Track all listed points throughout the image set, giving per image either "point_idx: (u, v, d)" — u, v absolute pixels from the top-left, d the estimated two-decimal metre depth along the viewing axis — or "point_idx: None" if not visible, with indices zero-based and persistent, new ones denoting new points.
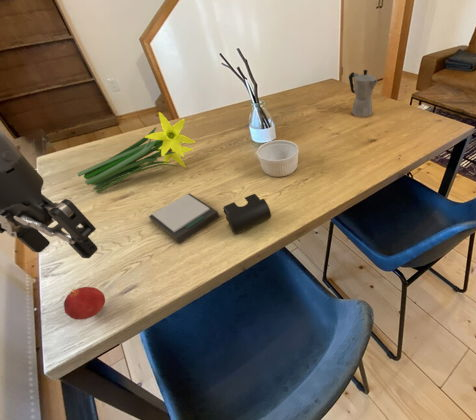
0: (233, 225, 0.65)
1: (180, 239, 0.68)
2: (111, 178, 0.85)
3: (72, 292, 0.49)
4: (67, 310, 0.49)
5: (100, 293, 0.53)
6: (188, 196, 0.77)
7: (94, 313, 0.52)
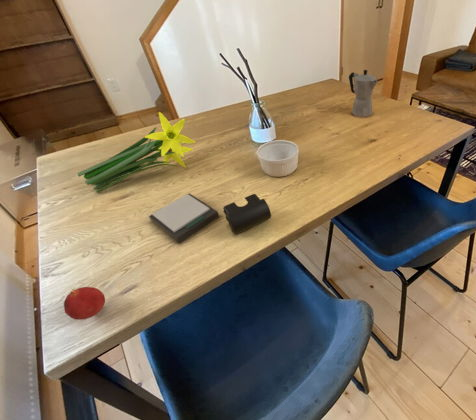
0: (233, 225, 0.65)
1: (180, 239, 0.68)
2: (111, 178, 0.85)
3: (72, 292, 0.49)
4: (68, 310, 0.49)
5: (100, 293, 0.53)
6: (188, 196, 0.77)
7: (94, 313, 0.52)
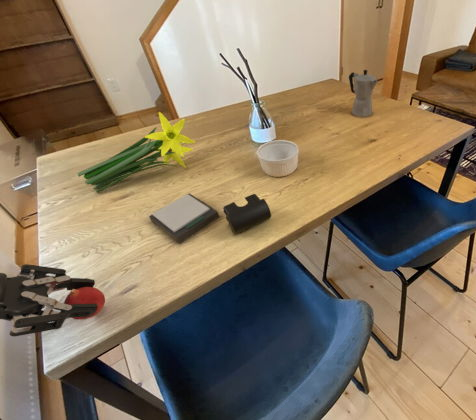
0: (233, 225, 0.65)
1: (180, 239, 0.68)
2: (111, 178, 0.85)
3: (72, 292, 0.49)
4: None
5: (100, 293, 0.53)
6: (188, 196, 0.77)
7: (94, 313, 0.52)
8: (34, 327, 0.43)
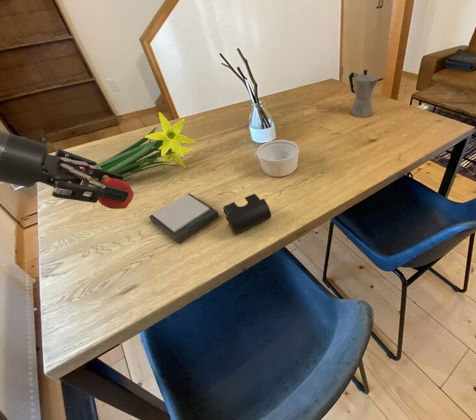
0: (233, 225, 0.65)
1: (180, 239, 0.68)
2: None
3: (105, 177, 0.52)
4: None
5: (129, 186, 0.55)
6: (188, 196, 0.77)
7: (124, 202, 0.54)
8: (74, 193, 0.45)
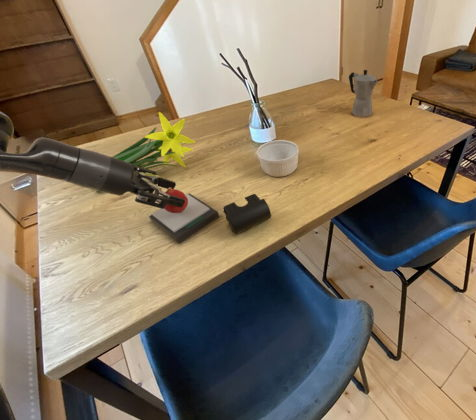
0: (233, 225, 0.65)
1: (180, 239, 0.68)
2: None
3: (169, 189, 0.67)
4: None
5: (185, 195, 0.71)
6: (188, 196, 0.77)
7: (182, 208, 0.69)
8: (149, 200, 0.59)
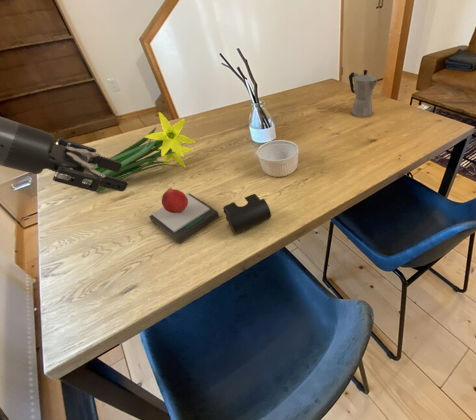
0: (233, 225, 0.65)
1: (180, 239, 0.68)
2: None
3: (169, 189, 0.67)
4: (165, 202, 0.67)
5: (185, 195, 0.71)
6: (188, 196, 0.77)
7: (182, 208, 0.69)
8: (73, 180, 0.47)
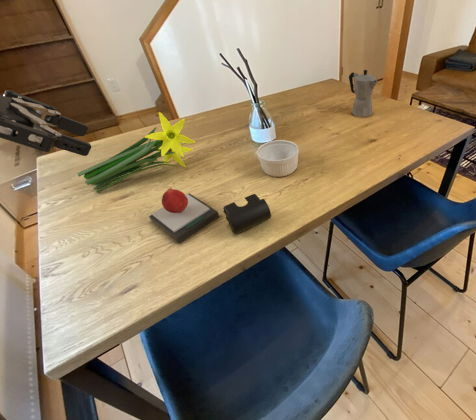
0: (233, 225, 0.65)
1: (180, 239, 0.68)
2: (111, 178, 0.85)
3: (169, 189, 0.67)
4: (165, 202, 0.67)
5: (185, 195, 0.71)
6: (188, 196, 0.77)
7: (182, 208, 0.69)
8: (17, 135, 0.38)
